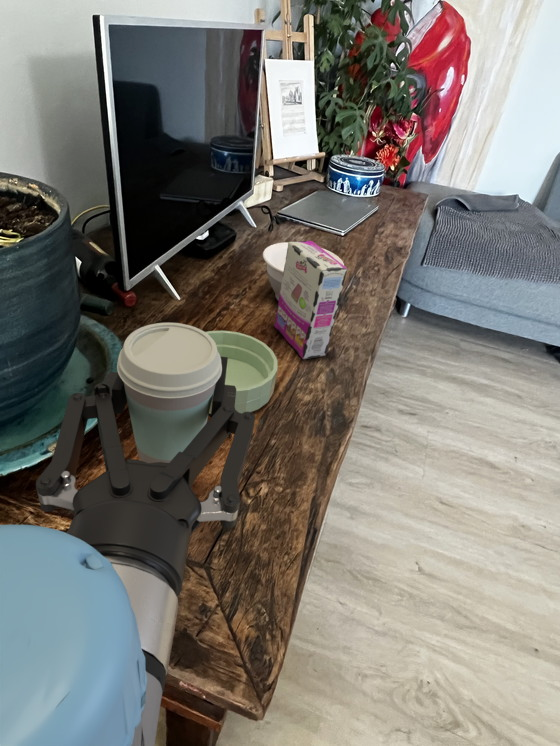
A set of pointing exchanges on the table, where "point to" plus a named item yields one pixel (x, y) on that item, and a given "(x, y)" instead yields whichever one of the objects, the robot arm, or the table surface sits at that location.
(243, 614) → the table surface
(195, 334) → the coffee cup
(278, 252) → the bowl
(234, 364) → the celadon bowl
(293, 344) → the candy bar box
